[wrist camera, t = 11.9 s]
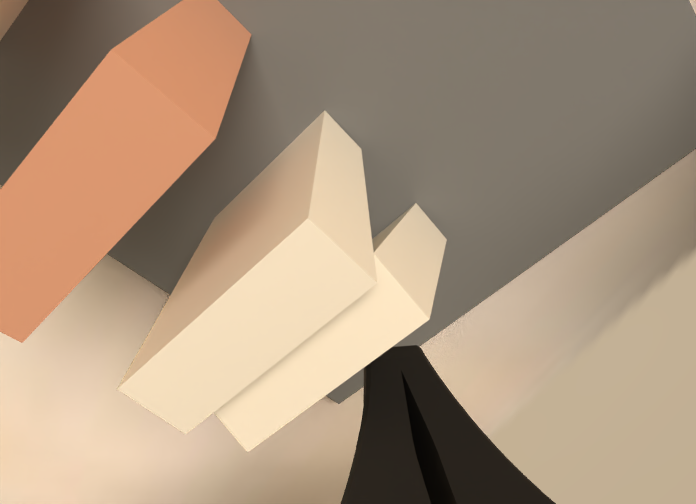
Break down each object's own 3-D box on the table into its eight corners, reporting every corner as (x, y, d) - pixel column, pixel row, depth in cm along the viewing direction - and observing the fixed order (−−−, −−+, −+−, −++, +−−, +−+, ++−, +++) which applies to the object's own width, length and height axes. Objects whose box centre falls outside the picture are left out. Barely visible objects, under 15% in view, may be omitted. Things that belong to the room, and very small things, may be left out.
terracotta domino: (203, -15, 13) (110, 48, 6) (251, 34, 14) (215, 138, 7) (91, 121, 14) (-80, 290, 8) (140, 158, 15) (22, 342, 8)
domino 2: (415, 202, 17) (373, 253, 9) (446, 239, 17) (429, 319, 9) (310, 290, 18) (199, 395, 11) (338, 324, 18) (247, 452, 11)
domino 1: (324, 110, 15) (308, 218, 8) (361, 149, 15) (377, 282, 8) (214, 217, 16) (116, 389, 9) (251, 249, 17) (185, 434, 10)
